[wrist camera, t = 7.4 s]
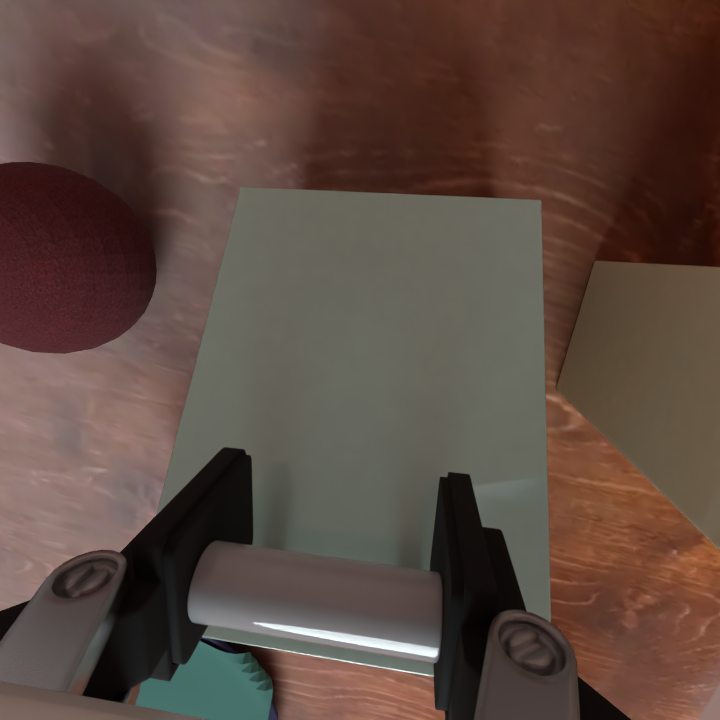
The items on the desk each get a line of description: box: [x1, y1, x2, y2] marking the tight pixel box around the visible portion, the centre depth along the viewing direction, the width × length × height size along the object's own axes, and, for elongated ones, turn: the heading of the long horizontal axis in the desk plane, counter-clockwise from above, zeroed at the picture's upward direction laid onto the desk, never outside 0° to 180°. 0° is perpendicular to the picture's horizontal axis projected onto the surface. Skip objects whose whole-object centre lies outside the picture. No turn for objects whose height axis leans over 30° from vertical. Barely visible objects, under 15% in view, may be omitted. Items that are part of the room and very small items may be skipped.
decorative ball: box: [0, 162, 157, 353], centre depth 23 cm, size 10×10×10 cm
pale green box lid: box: [156, 187, 551, 677], centre depth 12 cm, size 16×12×5 cm
